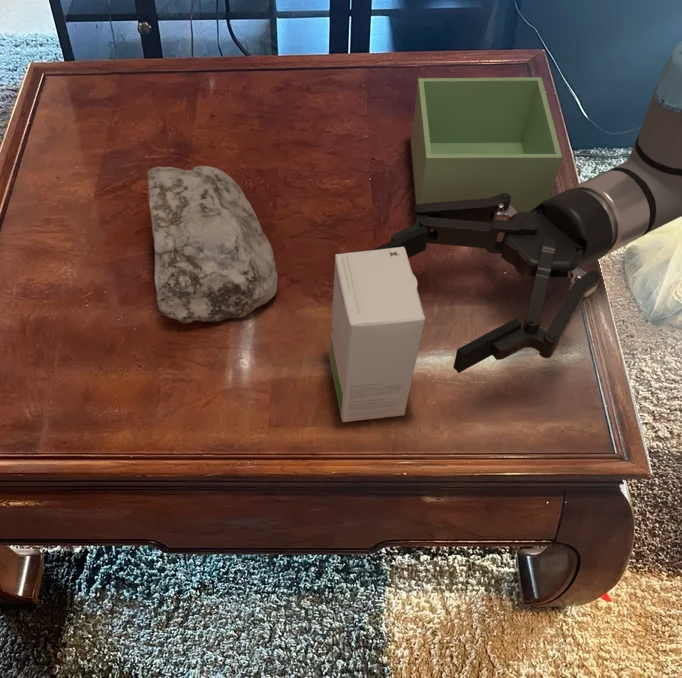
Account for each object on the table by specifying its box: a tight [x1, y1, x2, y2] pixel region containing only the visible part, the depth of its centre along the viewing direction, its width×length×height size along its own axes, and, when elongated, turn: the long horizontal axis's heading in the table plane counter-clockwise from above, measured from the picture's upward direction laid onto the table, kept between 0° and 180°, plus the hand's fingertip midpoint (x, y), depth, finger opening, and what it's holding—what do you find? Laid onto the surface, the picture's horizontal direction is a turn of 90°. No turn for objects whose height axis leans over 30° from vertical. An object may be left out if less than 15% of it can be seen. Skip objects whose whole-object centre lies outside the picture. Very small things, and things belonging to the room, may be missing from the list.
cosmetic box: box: [329, 247, 426, 423], centre depth 74 cm, size 8×7×16 cm
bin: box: [410, 76, 563, 213], centre depth 93 cm, size 14×14×10 cm
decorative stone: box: [146, 165, 279, 324], centre depth 88 cm, size 20×14×10 cm
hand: (411, 310), depth 74 cm, fingers open, 13 cm apart
